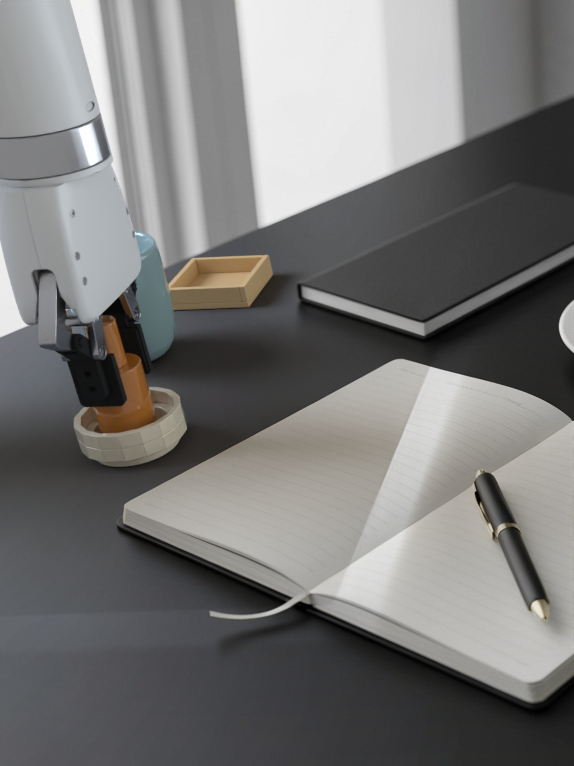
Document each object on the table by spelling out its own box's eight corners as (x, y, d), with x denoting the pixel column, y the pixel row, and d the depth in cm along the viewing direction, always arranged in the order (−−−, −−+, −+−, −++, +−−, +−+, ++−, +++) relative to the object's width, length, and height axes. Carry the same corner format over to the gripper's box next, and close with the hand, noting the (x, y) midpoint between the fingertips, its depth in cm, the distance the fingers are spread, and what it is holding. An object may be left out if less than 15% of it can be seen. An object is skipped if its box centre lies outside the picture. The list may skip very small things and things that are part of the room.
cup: (104, 387, 104) (70, 275, 100) (76, 356, 110) (42, 248, 105) (198, 356, 109) (169, 248, 104) (167, 328, 114) (138, 223, 109)
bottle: (94, 450, 94) (58, 334, 89) (116, 422, 97) (83, 310, 93) (148, 448, 94) (115, 333, 89) (168, 421, 97) (137, 308, 93)
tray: (168, 310, 117) (162, 289, 116) (197, 277, 124) (191, 257, 123) (249, 307, 117) (244, 286, 116) (273, 274, 124) (269, 254, 123)
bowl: (67, 473, 93) (55, 438, 91) (109, 422, 99) (99, 388, 98) (168, 469, 93) (157, 434, 91) (203, 418, 99) (194, 384, 98)
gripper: (48, 113, 92) (114, 339, 101) (-76, 194, 78) (13, 450, 86) (151, 109, 92) (208, 336, 101) (45, 189, 77) (123, 446, 86)
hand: (117, 386), depth 93 cm, fingers closed on bottle, 4 cm apart
